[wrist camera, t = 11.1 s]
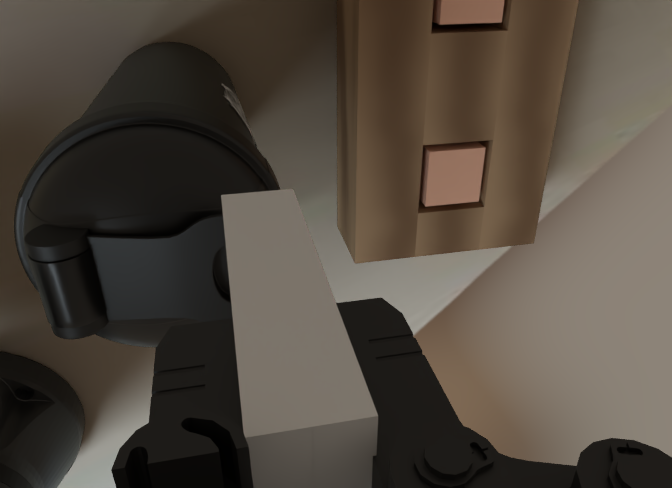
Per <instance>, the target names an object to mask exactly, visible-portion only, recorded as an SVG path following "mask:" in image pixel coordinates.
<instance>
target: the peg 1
mask: <svg viewBox="0 0 672 488" xmlns="http://www.w3.org/2000/svg"><path fill="white" fill-rule="evenodd" d="M503 8H504V0H434V1H433V15H432V22H434V23H437V24H439V25H444V24H472V23H499V22H502V16H503Z"/></svg>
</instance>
